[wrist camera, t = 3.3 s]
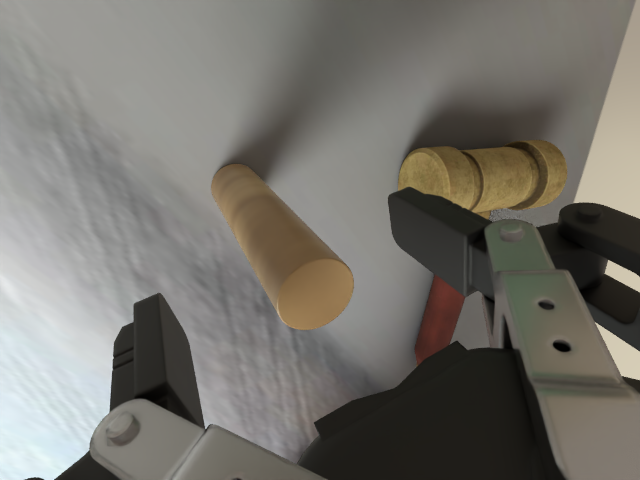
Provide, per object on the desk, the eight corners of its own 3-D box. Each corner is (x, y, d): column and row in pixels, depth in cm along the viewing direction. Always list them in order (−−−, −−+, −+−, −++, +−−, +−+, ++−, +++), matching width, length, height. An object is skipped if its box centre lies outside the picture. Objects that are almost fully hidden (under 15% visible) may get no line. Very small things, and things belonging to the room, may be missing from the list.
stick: (233, 218, 20) (308, 343, 12) (200, 185, 18) (259, 301, 10) (267, 188, 20) (367, 290, 12) (238, 153, 19) (327, 241, 10)
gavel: (482, 380, 33) (389, 419, 29) (447, 345, 37) (360, 374, 33) (581, 151, 23) (456, 162, 19) (518, 131, 26) (403, 138, 22)
